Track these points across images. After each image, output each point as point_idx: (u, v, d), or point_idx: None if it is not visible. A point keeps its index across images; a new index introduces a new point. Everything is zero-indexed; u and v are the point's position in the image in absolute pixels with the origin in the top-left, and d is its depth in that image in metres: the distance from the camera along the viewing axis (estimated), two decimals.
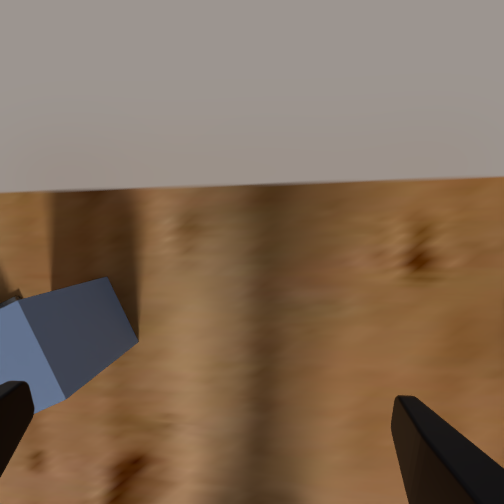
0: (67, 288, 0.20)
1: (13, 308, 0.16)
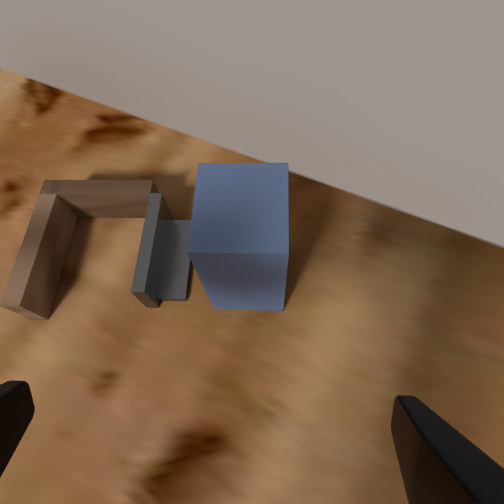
0: None
1: (281, 166, 0.18)
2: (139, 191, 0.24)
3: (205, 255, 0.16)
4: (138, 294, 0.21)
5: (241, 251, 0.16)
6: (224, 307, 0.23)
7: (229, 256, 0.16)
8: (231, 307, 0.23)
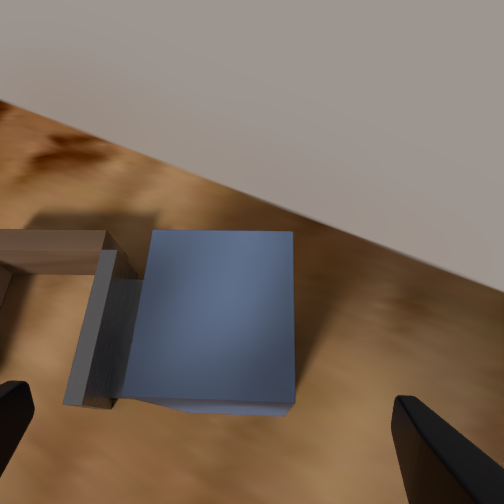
0: None
1: (282, 237, 0.11)
2: (87, 246, 0.18)
3: (155, 398, 0.10)
4: (75, 405, 0.15)
5: (213, 395, 0.09)
6: (201, 412, 0.17)
7: (195, 400, 0.10)
8: None
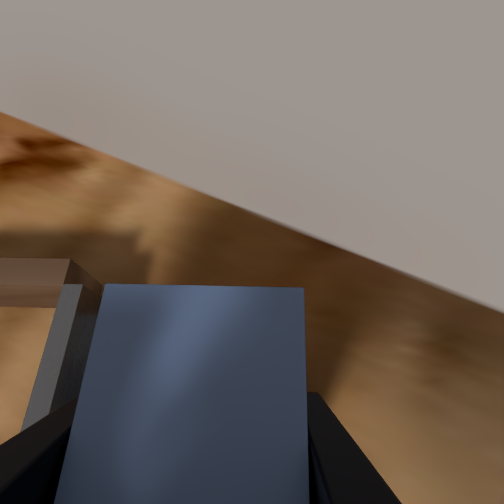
0: None
1: (288, 297, 0.08)
2: (45, 280, 0.14)
3: None
4: None
5: None
6: None
7: None
8: None
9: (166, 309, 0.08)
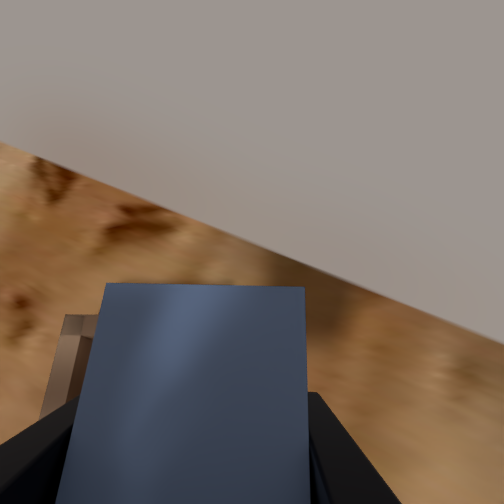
0: None
1: (289, 297, 0.08)
2: None
3: None
4: None
5: None
6: None
7: None
8: None
9: (167, 308, 0.08)
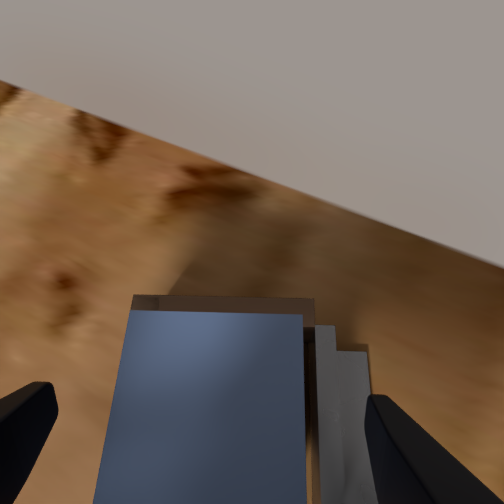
0: None
1: (289, 323, 0.09)
2: None
3: None
4: None
5: None
6: None
7: None
8: None
9: (184, 333, 0.09)
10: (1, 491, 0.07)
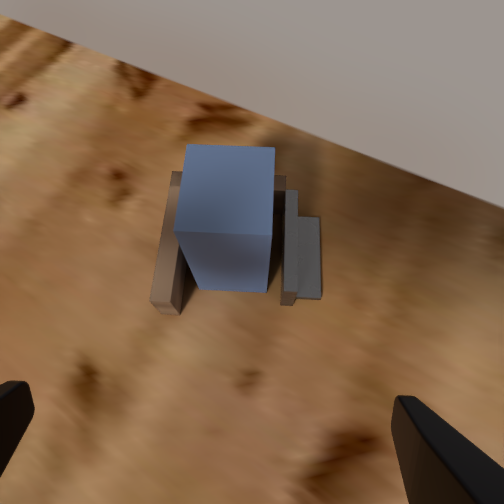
0: None
1: (268, 150, 0.18)
2: (274, 187, 0.24)
3: (191, 235, 0.17)
4: (288, 293, 0.21)
5: (226, 231, 0.16)
6: (209, 287, 0.24)
7: (214, 236, 0.17)
8: (216, 287, 0.24)
9: (215, 154, 0.18)
10: None
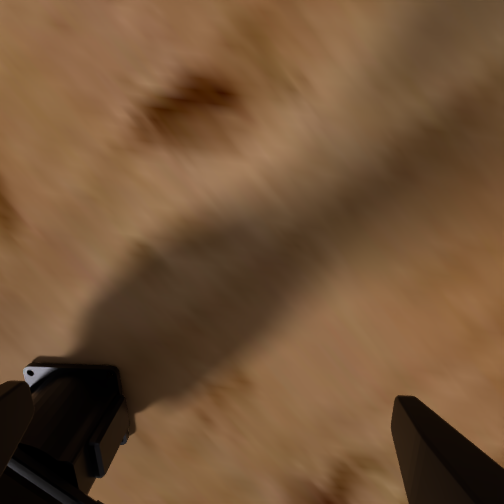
0: None
1: None
2: None
3: None
4: None
5: None
6: None
7: None
8: None
9: None
10: None
